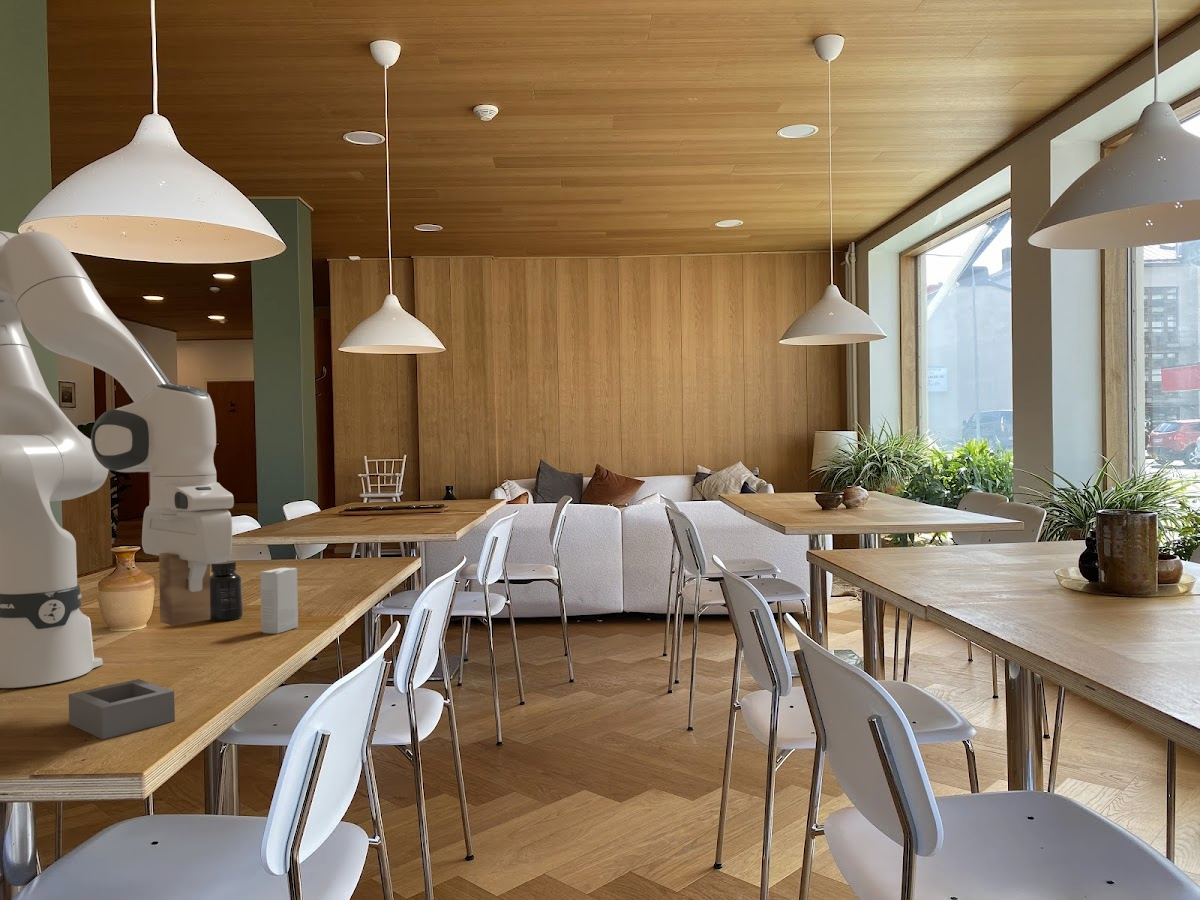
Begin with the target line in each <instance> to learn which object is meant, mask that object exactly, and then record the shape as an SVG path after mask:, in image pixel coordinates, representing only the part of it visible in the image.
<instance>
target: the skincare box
mask: <svg viewBox="0 0 1200 900" xmlns="http://www.w3.org/2000/svg"><path fill="white" fill-rule="evenodd" d="M259 579H260V580H259V581H260V624H261V625H260V627H261V633H263V634H272V635H274V634H275V635H277V634H281V633H284V632H287V631H290V630H293V629H297V628H298V627H299V604H298V603H299V602H298V597H299V596H298V595H299V593H298V568H297V567H279V568H274V569H269V570H265V571H260V578H259Z"/></svg>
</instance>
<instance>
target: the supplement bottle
mask: <svg viewBox="0 0 1200 900" xmlns="http://www.w3.org/2000/svg"><path fill="white" fill-rule="evenodd" d="M236 564H237V562H236V561H235V560H234V561H233V560H229V561H228V560H227V561H226V562H221V563H212V564H210V573H212V575H210V619H209V621H211V622H226V621H229V622H230V621H233V620H234V621H235V620H239V619H241V618H242V617H243V608H244V607H243V589H242V588H243V586H242V585H243V583H242V577H241V575H240V574H238V573H236V571H237V565H236Z"/></svg>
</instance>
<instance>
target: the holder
mask: <svg viewBox="0 0 1200 900" xmlns="http://www.w3.org/2000/svg"><path fill="white" fill-rule="evenodd" d="M175 709H176V708H175V690H173V689H169V688H166V687H163V686H160V685H158V684H155V683H152V682H148V681H145V680H143V679H140V678H136V679H132V680H128V681H123V682H120V683H119V682H118V683H114V684H110V685H105V686H100V687H95V688H91V689H86V690H83V691H78V692H77V691H76V692H72V693H68V721H69V722H68V724H69V725H70V726H73V727H75V728H77V729H79V730H82V731H83V732H86V733H88V734H89V735H92V736H94V737H97V738H98V739H100V740H103V741H104V740H107V739H111V738H115V737H119V736H123V735H127V734H131V733H135V732H138V731H141V730H145V729H146V730H147V729H151V728H153V727H156V726H157V727H158V726H161V725H164V724H168V723H172V722H175V719H176V718H175V713H176V712H175Z"/></svg>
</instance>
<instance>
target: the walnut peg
mask: <svg viewBox="0 0 1200 900" xmlns="http://www.w3.org/2000/svg"><path fill="white" fill-rule="evenodd" d="M158 561H159V562H158V564H159V565H158V566H159V567H158V568H159V574H158V575H159V622H160V623H162V624H166V625H169V626H180V625H184V624H190V623H197V622H203V621H207V620H209V619H210V576H211V564H207V569H206V571H205V574H204V577H203V578H202V590H201V591H196V592H191V591H187V590H186V579H188V577H189V572H190V568H188V561H187V560H181V559H180V558H179V555H175V554H169V553H161V554H159V556H158ZM209 621H210V620H209Z"/></svg>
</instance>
